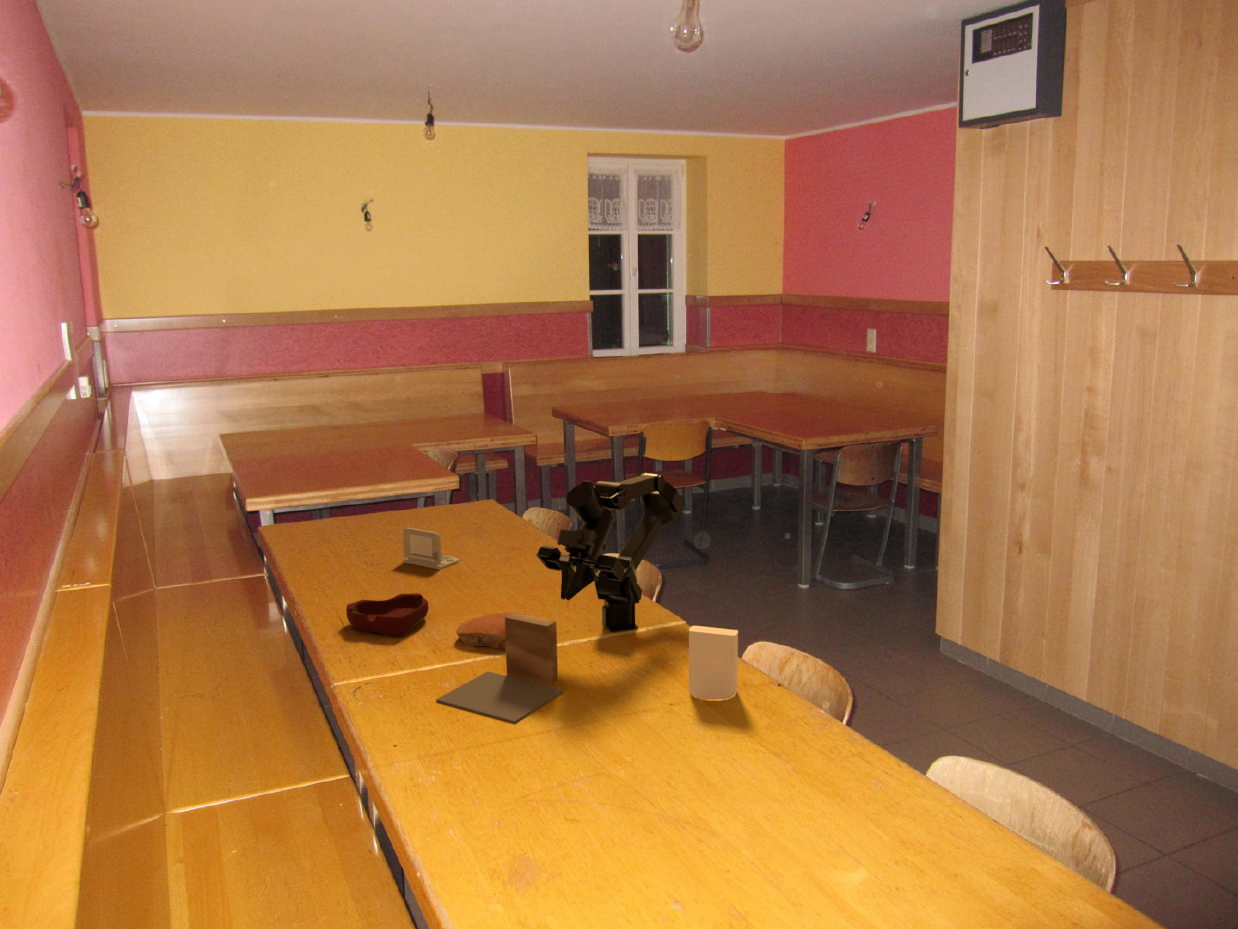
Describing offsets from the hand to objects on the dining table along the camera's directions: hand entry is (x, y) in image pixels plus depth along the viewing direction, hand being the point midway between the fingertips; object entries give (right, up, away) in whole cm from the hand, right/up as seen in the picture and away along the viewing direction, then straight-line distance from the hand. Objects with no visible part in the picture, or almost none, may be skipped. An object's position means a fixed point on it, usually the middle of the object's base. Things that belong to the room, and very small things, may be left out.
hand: (564, 599), depth 195 cm
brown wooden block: (-6, -14, -7) cm, 17 cm away
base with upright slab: (+29, -15, -14) cm, 35 cm away
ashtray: (-40, -10, +22) cm, 46 cm away
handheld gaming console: (-40, 0, +72) cm, 82 cm away
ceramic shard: (-16, -11, +15) cm, 25 cm away
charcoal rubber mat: (-11, -16, -16) cm, 25 cm away
